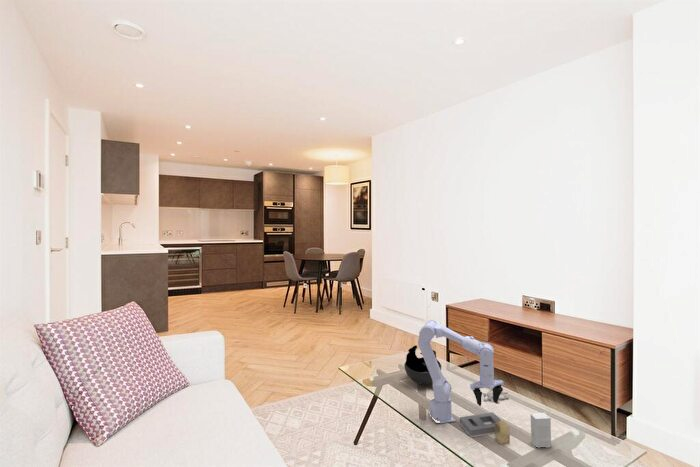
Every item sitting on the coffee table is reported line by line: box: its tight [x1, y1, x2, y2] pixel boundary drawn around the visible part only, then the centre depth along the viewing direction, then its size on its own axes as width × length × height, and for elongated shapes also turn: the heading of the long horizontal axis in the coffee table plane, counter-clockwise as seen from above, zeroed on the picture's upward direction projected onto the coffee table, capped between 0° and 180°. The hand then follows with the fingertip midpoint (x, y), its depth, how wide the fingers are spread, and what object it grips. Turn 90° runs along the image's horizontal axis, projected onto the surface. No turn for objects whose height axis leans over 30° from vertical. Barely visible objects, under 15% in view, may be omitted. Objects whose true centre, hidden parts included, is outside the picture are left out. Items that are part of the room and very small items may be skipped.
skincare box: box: [530, 412, 552, 448], centre depth 146 cm, size 6×4×12 cm
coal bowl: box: [403, 345, 442, 386], centre depth 203 cm, size 20×20×19 cm
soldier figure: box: [482, 388, 510, 404], centre depth 182 cm, size 8×5×12 cm
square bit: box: [494, 420, 511, 445], centre depth 150 cm, size 4×4×7 cm
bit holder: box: [459, 412, 502, 438], centre depth 159 cm, size 16×10×3 cm, turn 100°
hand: (487, 403), depth 159 cm, fingers open, 7 cm apart
